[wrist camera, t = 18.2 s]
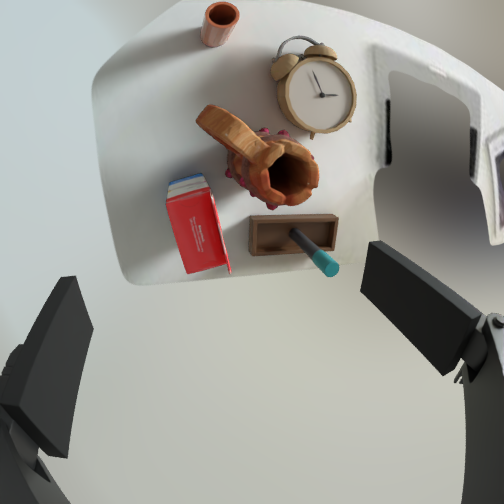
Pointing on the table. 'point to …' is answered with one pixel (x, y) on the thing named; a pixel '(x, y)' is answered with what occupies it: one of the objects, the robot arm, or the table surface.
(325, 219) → the pen tray
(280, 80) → the alarm clock
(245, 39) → the table surface
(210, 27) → the pen pot
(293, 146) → the mug
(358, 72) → the table surface
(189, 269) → the ink box
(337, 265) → the marker
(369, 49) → the table surface
